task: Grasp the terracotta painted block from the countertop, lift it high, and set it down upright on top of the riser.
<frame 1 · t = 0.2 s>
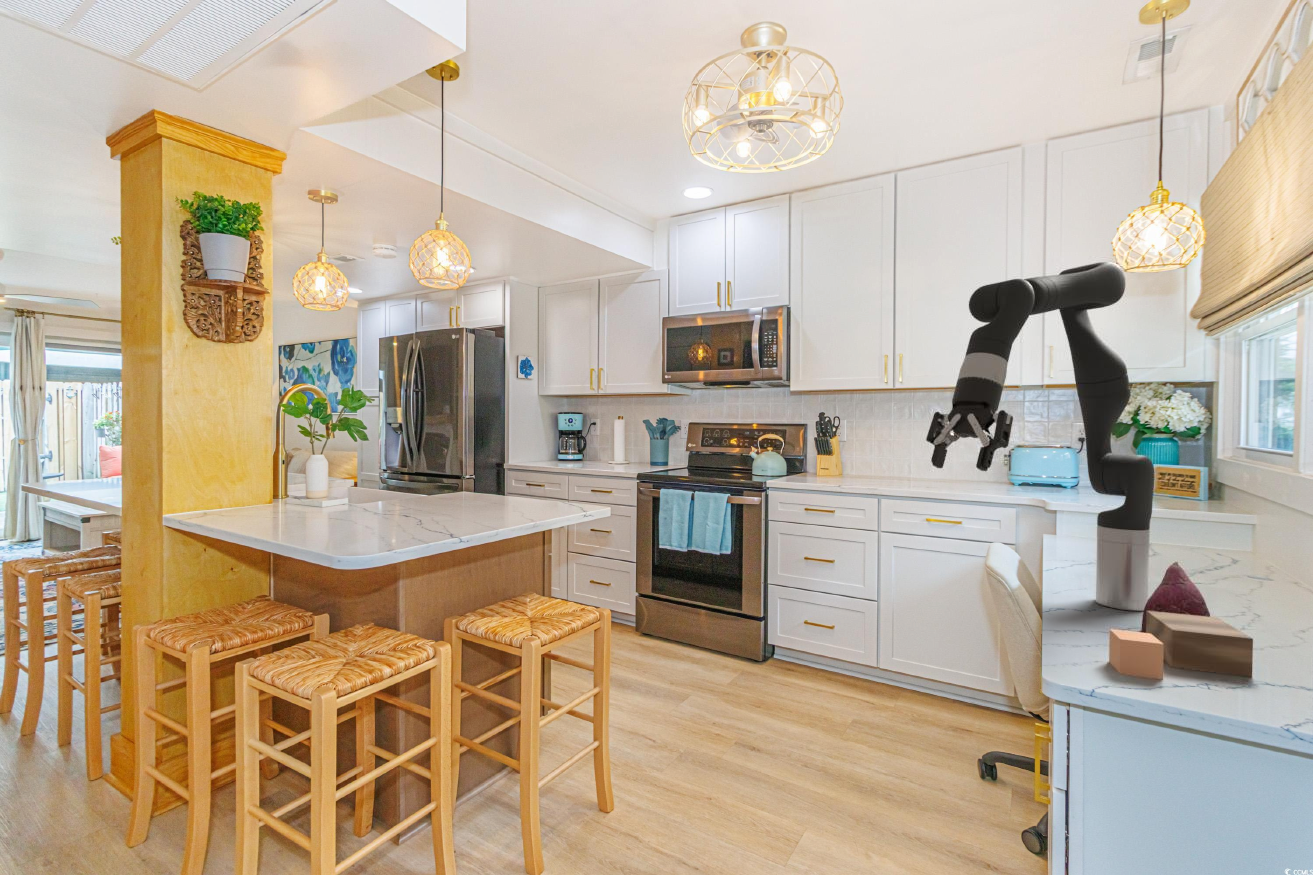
hand: (958, 468, 109), 31 cm above the countertop, tool tilted 20°, fingers open, 8 cm apart
block: (1135, 670, 98), on the countertop
vegetable: (1176, 637, 115), on the countertop
riser: (1195, 659, 103), on the countertop
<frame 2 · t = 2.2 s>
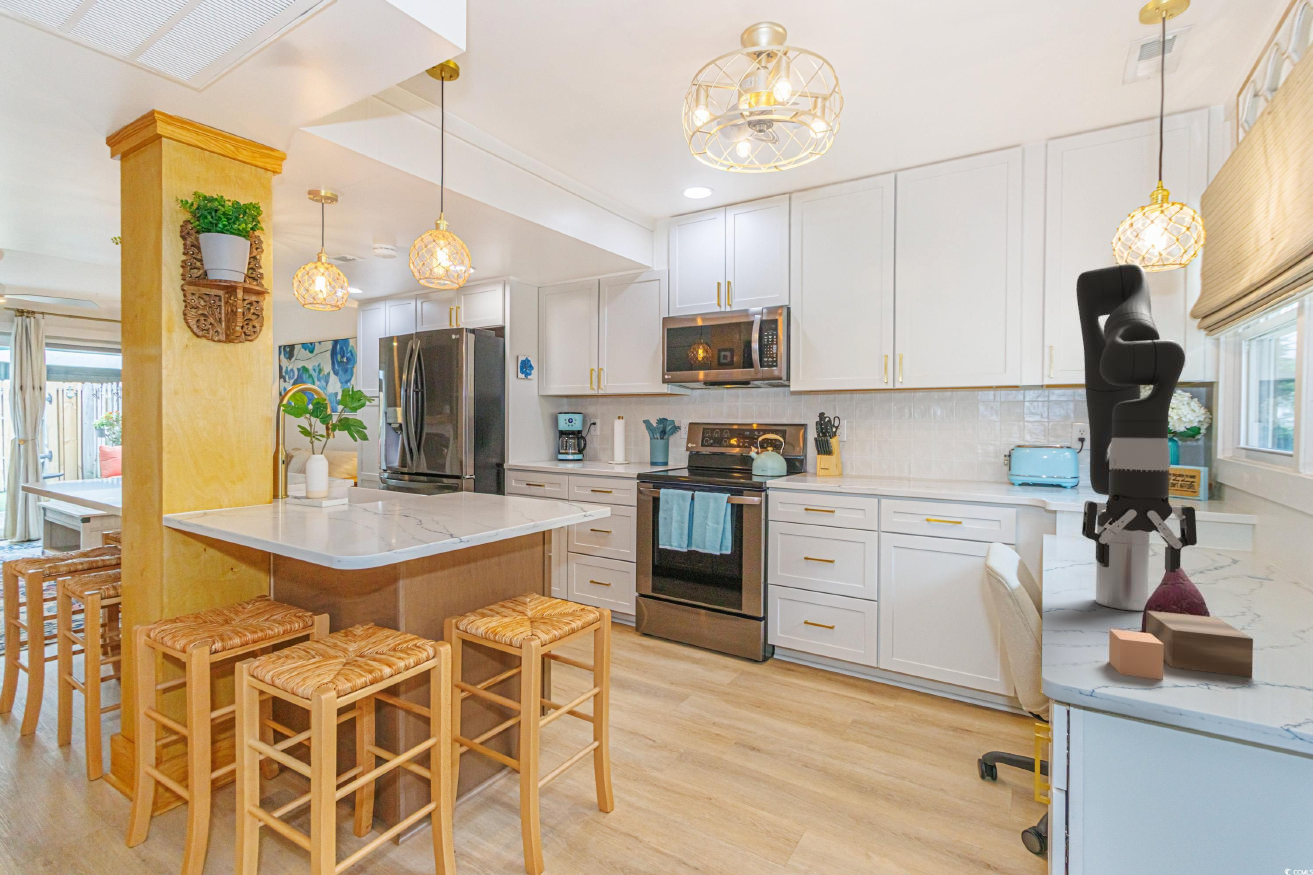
hand: (1136, 568, 98), 16 cm above the countertop, tool pointing down, fingers open, 8 cm apart
nothing on the countertop moved.
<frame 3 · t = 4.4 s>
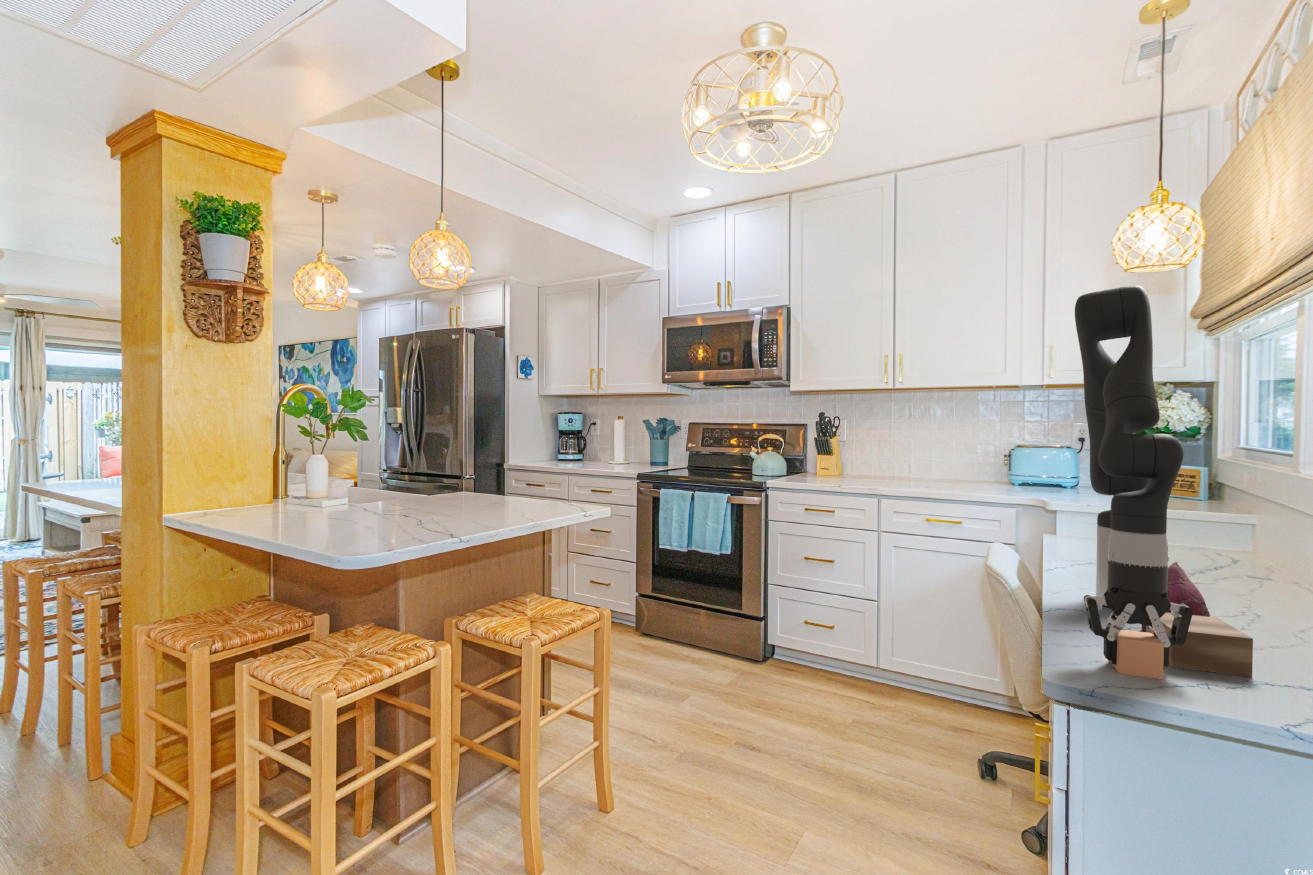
hand: (1135, 665, 98), 1 cm above the countertop, tool pointing down, fingers closed on block, 5 cm apart
block: (1135, 670, 98), on the countertop, touching gripper
everything else where it was.
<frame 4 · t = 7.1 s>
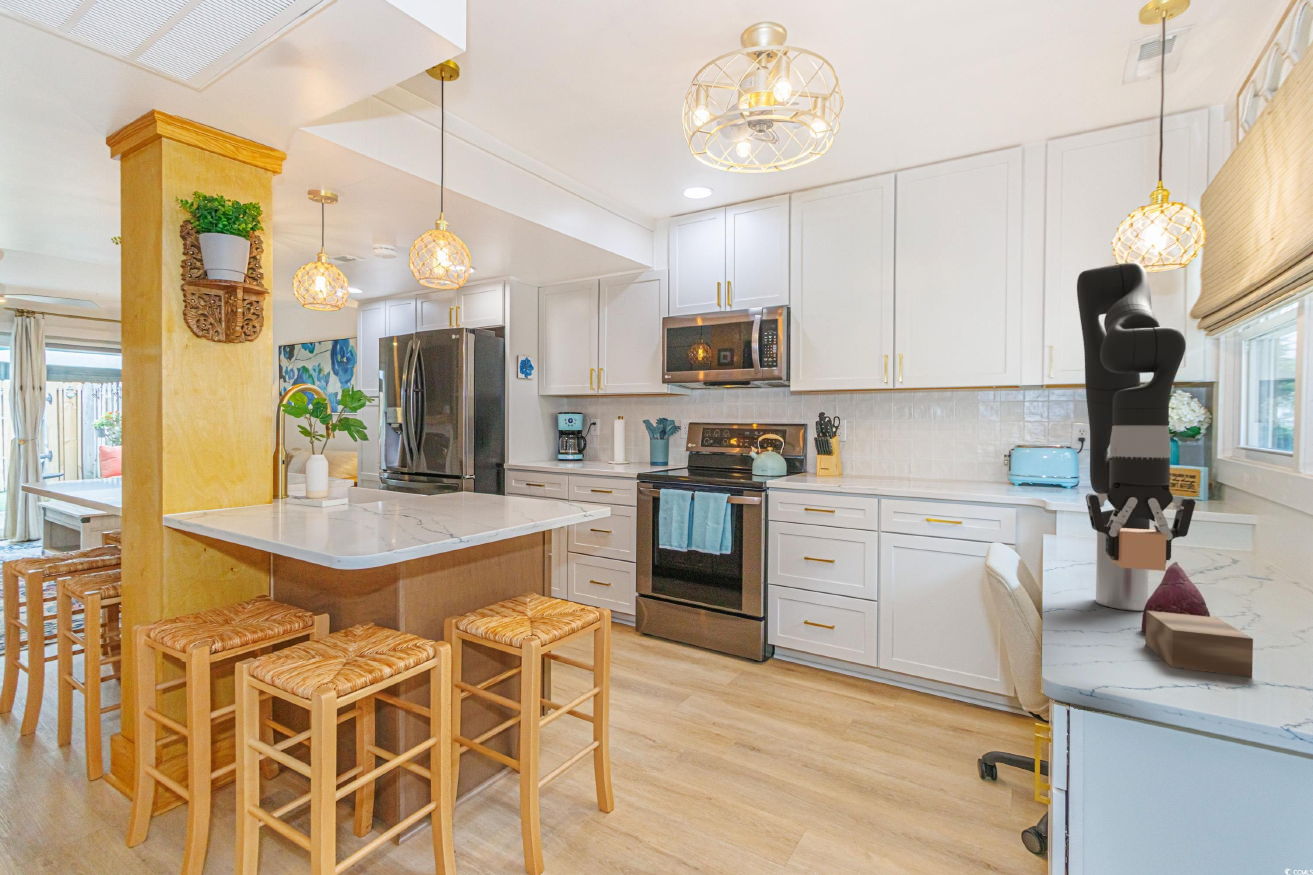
hand: (1137, 560, 98), 17 cm above the countertop, tool pointing down, fingers closed on block, 5 cm apart
block: (1137, 565, 98), point 17 cm above the countertop, touching gripper
everything else where it was.
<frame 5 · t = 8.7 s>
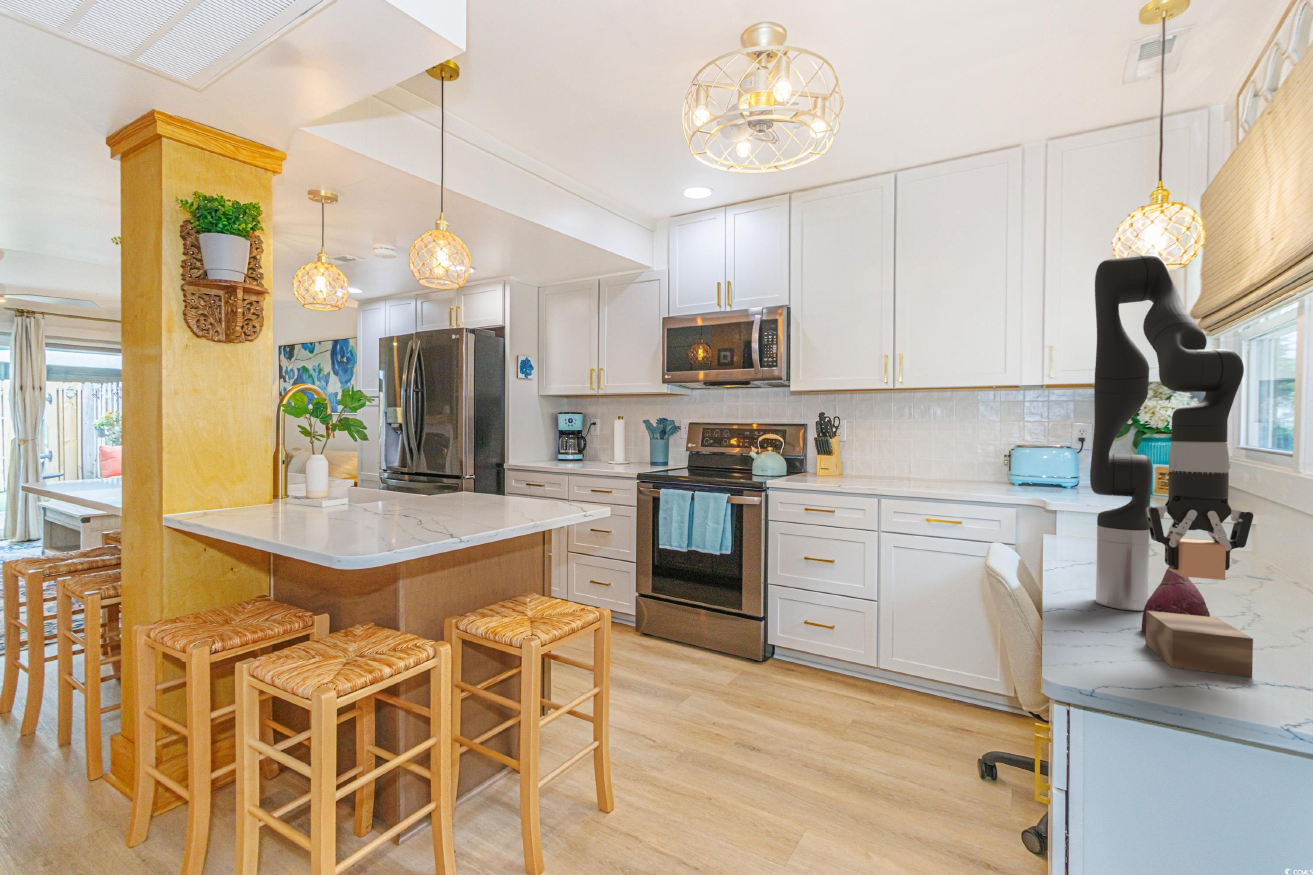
hand: (1196, 570, 103), 15 cm above the countertop, tool pointing down, fingers closed on block, 5 cm apart
block: (1196, 574, 103), point 14 cm above the countertop, touching gripper
everything else where it was.
when the fingers open (8 cm above the countertop, at t = 10.1 s): block drops 1 cm, resting on riser.
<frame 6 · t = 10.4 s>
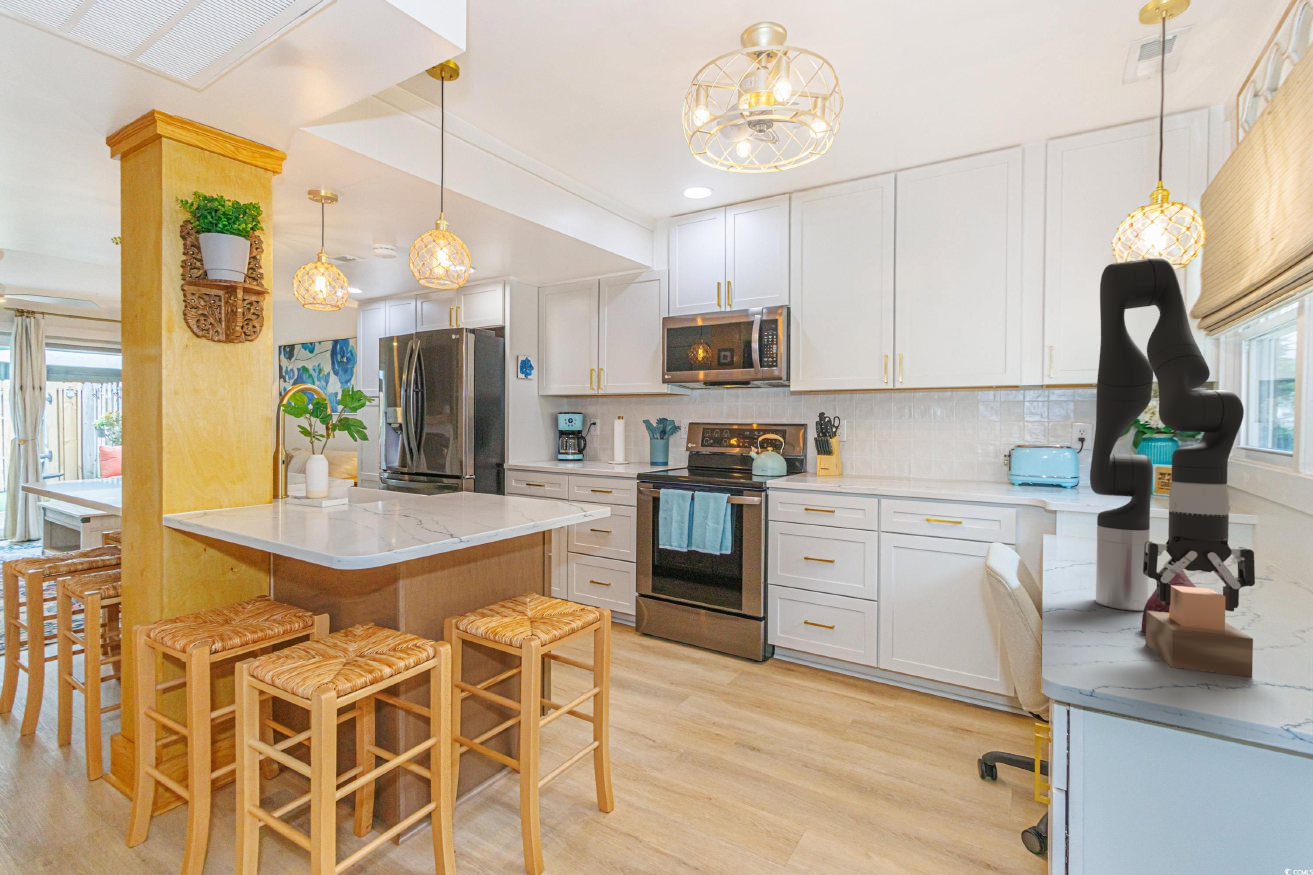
hand: (1196, 607, 103), 9 cm above the countertop, tool pointing down, fingers open, 8 cm apart
block: (1196, 623, 103), point 6 cm above the countertop, touching riser
everything else where it was.
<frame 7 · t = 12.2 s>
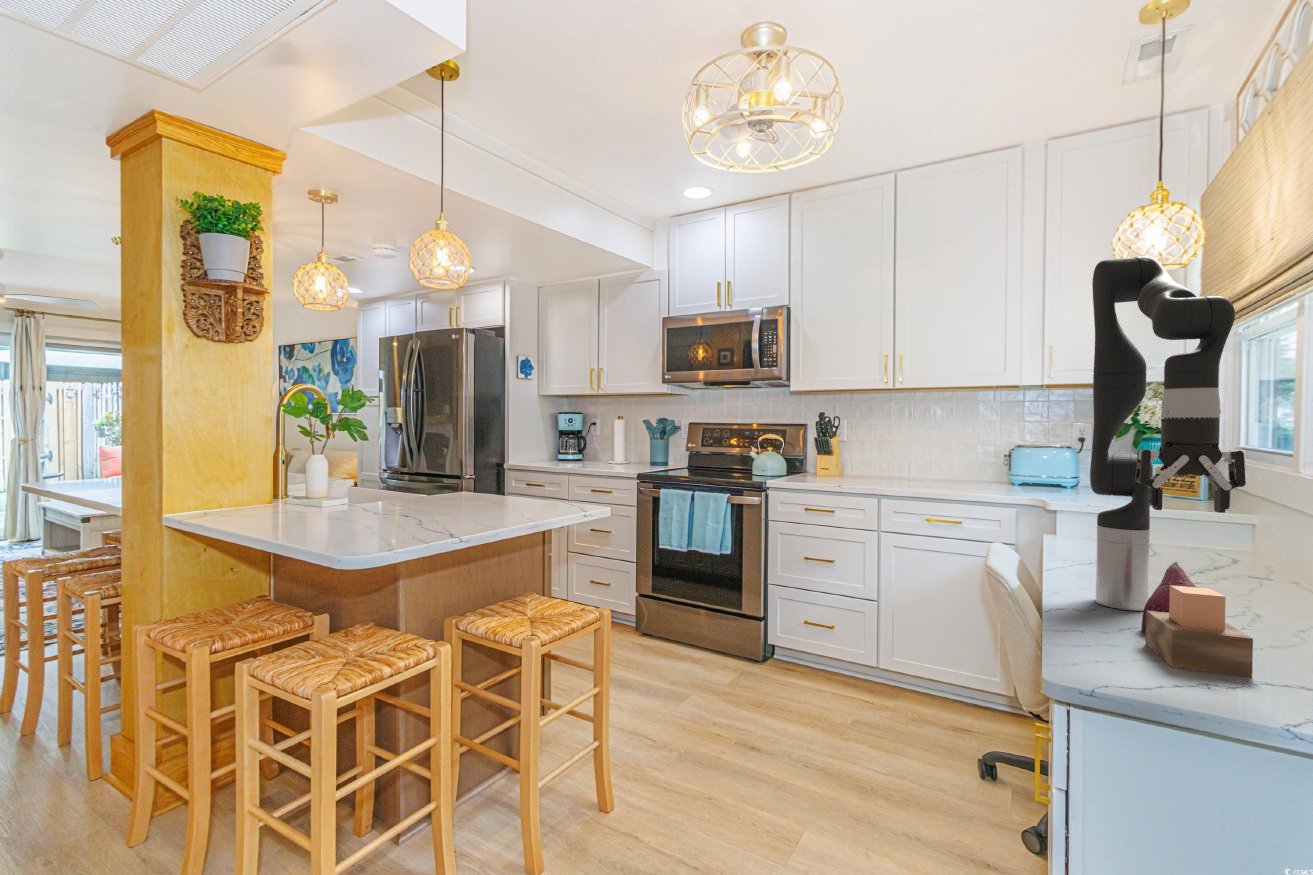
hand: (1187, 510, 105), 25 cm above the countertop, tool pointing down, fingers open, 8 cm apart
nothing on the countertop moved.
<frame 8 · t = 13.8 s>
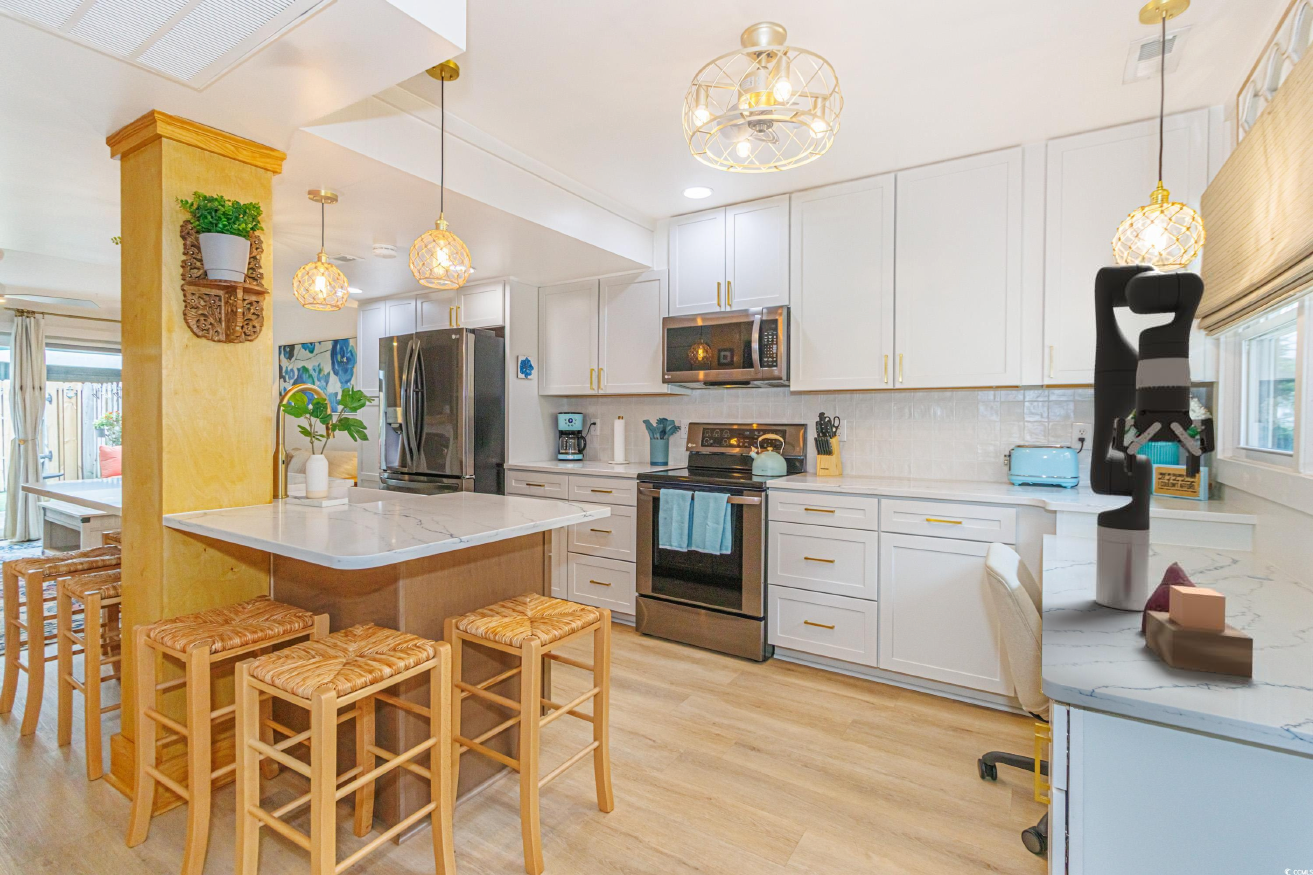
hand: (1160, 476, 111), 30 cm above the countertop, tool pointing down, fingers open, 8 cm apart
nothing on the countertop moved.
at the end: block inside the target area on the riser (0.0 cm from its centre), point 6.0 cm above the riser's base; block tilted 0°; the gripper is holding nothing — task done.
